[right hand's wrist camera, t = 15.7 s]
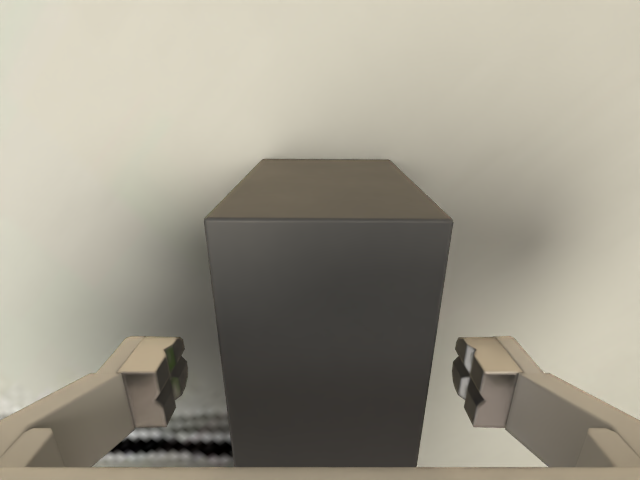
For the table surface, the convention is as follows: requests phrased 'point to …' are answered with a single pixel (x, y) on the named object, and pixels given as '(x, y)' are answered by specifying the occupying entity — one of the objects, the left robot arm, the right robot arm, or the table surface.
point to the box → (327, 311)
